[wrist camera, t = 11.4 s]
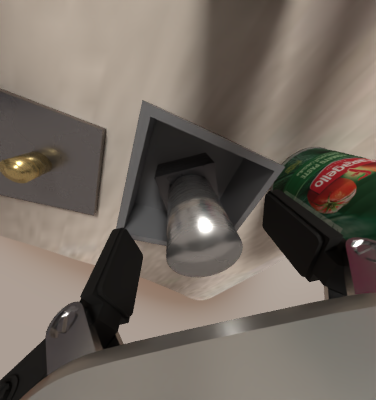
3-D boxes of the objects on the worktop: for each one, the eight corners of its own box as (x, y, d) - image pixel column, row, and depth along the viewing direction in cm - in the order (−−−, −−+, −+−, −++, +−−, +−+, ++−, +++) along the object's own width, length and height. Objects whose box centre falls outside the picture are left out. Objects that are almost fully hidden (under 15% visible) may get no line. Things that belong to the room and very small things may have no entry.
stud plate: (-8, 187, 15) (-55, 207, 12) (-42, 72, 10) (-133, 55, 7) (96, 211, 18) (81, 232, 15) (106, 128, 13) (86, 134, 10)
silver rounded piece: (157, 164, 15) (140, 233, 6) (205, 152, 15) (253, 206, 6) (171, 204, 18) (172, 288, 9) (212, 194, 18) (250, 270, 9)
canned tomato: (292, 211, 21) (386, 287, 12) (258, 188, 19) (345, 265, 9) (343, 167, 18) (523, 225, 9) (310, 132, 15) (523, 163, 6)
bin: (129, 202, 18) (114, 236, 13) (152, 104, 13) (142, 100, 8) (207, 222, 21) (218, 255, 16) (250, 150, 16) (285, 166, 11)
